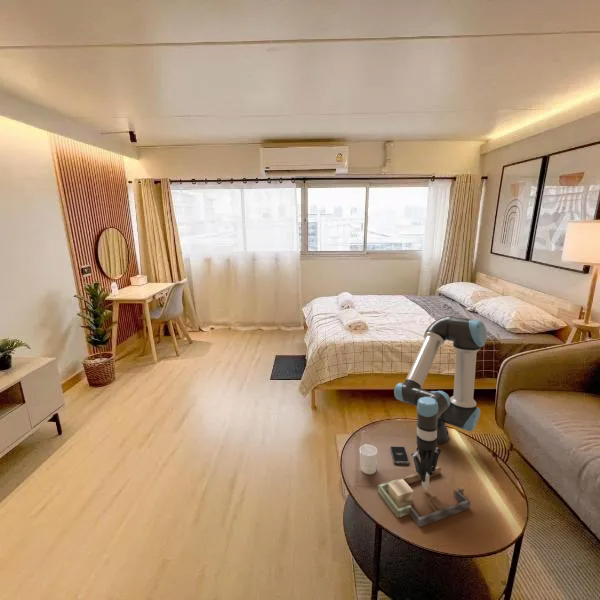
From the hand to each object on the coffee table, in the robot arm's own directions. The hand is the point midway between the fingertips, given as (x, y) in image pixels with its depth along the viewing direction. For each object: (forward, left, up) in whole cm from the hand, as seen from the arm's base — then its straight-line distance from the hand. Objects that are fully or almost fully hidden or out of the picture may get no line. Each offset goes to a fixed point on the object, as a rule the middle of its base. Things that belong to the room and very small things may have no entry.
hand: (425, 486), depth 134 cm
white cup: (+15, -20, -2) cm, 25 cm away
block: (+12, 0, -2) cm, 12 cm away
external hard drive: (-3, -22, -3) cm, 22 cm away
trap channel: (+3, +3, -2) cm, 5 cm away
